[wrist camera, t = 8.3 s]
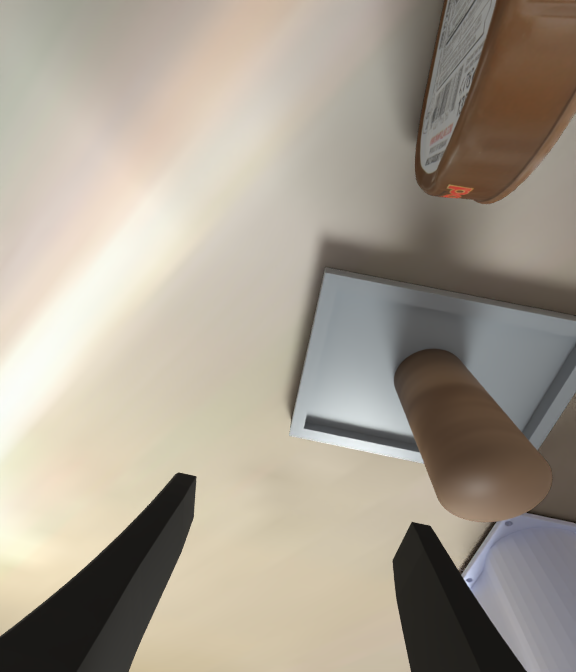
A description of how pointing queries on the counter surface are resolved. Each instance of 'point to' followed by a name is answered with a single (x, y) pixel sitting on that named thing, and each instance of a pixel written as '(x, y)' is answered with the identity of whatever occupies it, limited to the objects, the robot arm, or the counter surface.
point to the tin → (495, 95)
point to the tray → (415, 335)
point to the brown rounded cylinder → (468, 441)
